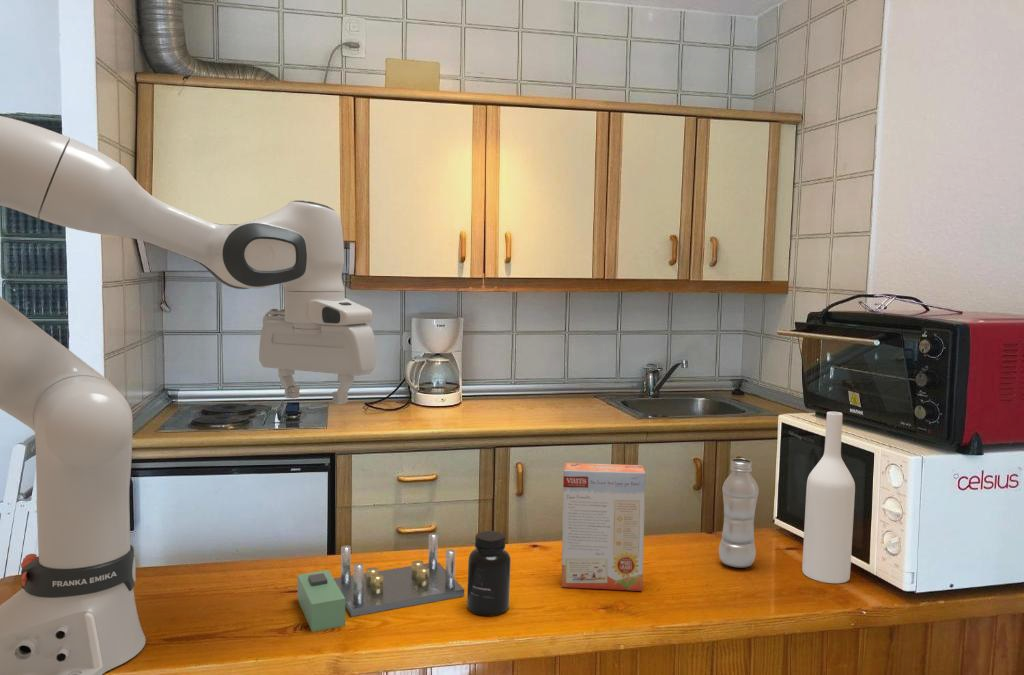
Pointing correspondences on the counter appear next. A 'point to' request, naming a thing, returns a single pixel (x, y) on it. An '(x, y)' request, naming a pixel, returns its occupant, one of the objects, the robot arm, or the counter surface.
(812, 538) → the bottle
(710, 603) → the counter surface
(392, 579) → the chassis
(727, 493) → the plastic bottle
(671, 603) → the counter surface
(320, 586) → the green rectangular block
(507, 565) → the supplement bottle
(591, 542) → the cracker box
